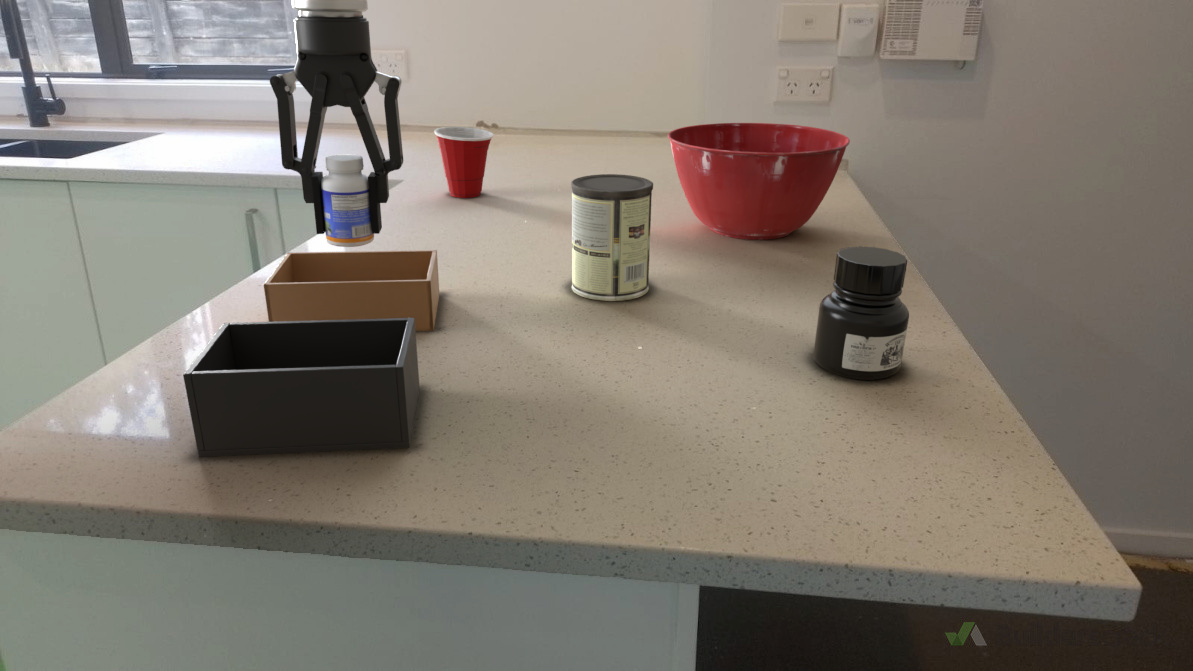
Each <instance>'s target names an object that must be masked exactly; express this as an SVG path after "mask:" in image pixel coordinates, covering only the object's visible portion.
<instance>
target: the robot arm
mask: <svg viewBox="0 0 1193 671" xmlns="http://www.w3.org/2000/svg"><path fill="white" fill-rule="evenodd" d="M291 8H292V9H293V10H294V11H298V15H297V16H295V19H293V22H294V23H293V25H294V34H295V35H294V36H295V44H296V54H297V60H296V63H295V65H294V68H293V70H291V71H289V72H286V73H283V74H282V73H277V74H275V75H273V76H271V77H270V79H269V84H270V87H271V89H272V91H273V93H274V96H275V98H276V104H277V118H278V128H279V129H278V130H279V142H280V155H281V165H282V168H284V170H290V171H293V172H296V173H298V174H299V175H300V178H301V186H302V195H303V196H302V198H303V200H304V202H305V204H313V212H314V219H315V220H314V221H315V231H316V235H325V234H326V233H325V223H324V212H323V201H322V190H321V180H322V179H323V177H324V173H323V171H316V170H315V169H316V168H317V165H316V164H317V160H318V155H319V150H320V145H321V139H322V134H323V128H324V125H325V124H324V123H325V118H326V114H327V111H328V108H331V107H335V106H340V107H343V108H350V110H351V113H352V115H353V117H354V120H355V123H356V124H357V127H358V130H359V133H360V135H361V139H362V141H363V144H364V146H365V149H366V152H367V155H368V158H369V160H370V163H371V166H372V170H373V171H370V173H369V174H368V176H367V177H368V183H369V196H370V209H371V222H372V234H374V235H376V234H377V235H378V234H380V233H381V231H382V228H383V227H382V226H383V223H382V222H383V221H382V210H381V204H387V203H388V201H389V197H390V187H389V173H391V172H394V171H398V170H400V169H401V168H402V166H403V164H404V152H403V142H402V132H401V121H400V120H401V119H400V110H399V109H400V108H399V102H398V101H399V100H398V98H399V95H400V90H401V87H402V79H401V77H400V76H398V75H393V76H392V75H389V74H385V73H383V72H380V71H378V69H377V67H376V65H375V64H374V60H373V58H372V49H371V48H372V47H371V34H370V21H369V20H367V17H364V15H363V12H366V11H367V10H368V9H369V6H368V0H291ZM297 82H299V84H300V85H301V86H302V87H303V88H304V90H305V91H306V93H308V95H309V96H310V97H311V102H310V106H309V117H308V122H307V127H306V133H305V138H304V142H303V148H302V155H301V157H299V153H298V140H297V126H296V125H297V124H296V110H295V99H294V94H293V93H295V91H296V90H297V85H296V84H297ZM374 83H376V84H377V86H378V91H379V93H380V94H381V95H383V96H384V98H383V106H384V115H385V127H386V135H387V145H388V156H389V158H386V156H385V154H384V151H383V148H382V146H381V143H380V139H379V137H378V135H377V131H376V129H375V126H374V123H373V120H372V118H371V115H370V112H369V107H368V104H367V101H366V98H365V96H366V95H367V93H368V92H369V90H370V89H371V87H372V86H373V84H374Z"/></svg>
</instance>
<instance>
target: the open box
mask: <svg viewBox="0 0 1193 671" xmlns="http://www.w3.org/2000/svg"><path fill="white" fill-rule="evenodd" d="M416 332H417V331H415V318H388V319H350V320H312V321H275V322H269V321H246V322H245V321H244V322H243V321H241V322H239V321H238V322H223V323H222V325H221V326H220V327H219V329H218V330H217V331H216V332H215V333H214V335H213V336H212V338H210V340H209V341H208V342H207V343H206V345H205V346H204V347H203V348H202V349H201V351H200V352H199V354H198V355H197V356H196V358H195V359H194V360H193V361H192V363H191V364H190V365H189V366H188V368H186V370H185V371H184V373H183V374H182V376H183V382H184V387H185V393H186V395H187V396H186V397H187V402H188V408H189V413H190V418H191V423H192V429H193V434H194V440H195V445H196V450H197V456H198V458H206V457H207V458H208V457H230V456H231V457H234V456H251V455H253V456H254V455H255V456H256V455H276V454H277V455H278V454H299V453H320V452H321V453H322V452H339V451H340V452H344V451H345V452H346V451H347V452H348V451H365V450H366V451H368V450H391V449H408V448H410V447H411V441H412V437H413V431H414V425H415V418H416V412H417V408H418V402H419V396H420V391H421V388H420V376H419V375H420V374H419V361H418V348H417V347H418V346H417V334H416Z"/></svg>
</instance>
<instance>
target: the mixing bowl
mask: <svg viewBox="0 0 1193 671" xmlns="http://www.w3.org/2000/svg"><path fill="white" fill-rule="evenodd" d="M667 138H668V140H669V142H670V147H671V148H670V149H671V152H672V153H671V154H672V157H673V161H674V166H675V169H676V172H677V173H676V174H677V176H678V179H679V182H680V183H679V184H680V186H681V188H682V191H683V194H684V197H685V198H686V200H687V203H688V204H689V207H690V209H691V211H692V212H693V214H694V216H695V217H696V218H697V220H698V221H700V223H702V224H703V225H704V226H706V227H708V228H709V229H710V230H711V231H712V232H714V233H716V234H718V235H720V236H723V237H727V238H728V237H729V238H733V239H739V240H753V241H755V240H756V241H757V240H760V241H761V240H774V239H781V238H784V237H787V236H789V235H790V234H791V233H792V232H794V231H797V230H798V229H800V228H802V227H803V226H804V225H805V224H806V223H808V221H809V220H810V219H811V218H812V217H813V215H814V214H815V212H816V211H817V210H818V208H819V207H820V205H821V203H822V202H823V200H824V199H825V196H826V195H827V193H828V192H829V190H830V188H831V186H832V184H833V182H834V179H835V177H836V176H837V173H838V170H839V168H840V166H841V163H842V161H843V158H844V155H845V152H846V149H847V147H848V146H849V145H850V142H851V140H850V138H849V137H848V136H846V135H844V134H842V133H840V132H836V131H833V130H829V129H826V128H819V127H814V126H807V125H799V124H788V123H787V124H785V123H768V122H767V123H766V122H722V123H721V122H719V123H706V124H696V125H688V126H683V127H679V128H676V129H672V130H671V131H670V132H668V133H667Z"/></svg>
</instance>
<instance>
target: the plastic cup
mask: <svg viewBox="0 0 1193 671" xmlns="http://www.w3.org/2000/svg"><path fill="white" fill-rule="evenodd" d="M433 133H434V135H435V136H436V139H437V143H438V147H439V150H440V156H441V160H442V166H443V171H444V175H445V178H446V183H447V186H448V188H447V189H448V192H449V195H450V196H451V197H453V198H459V199H470V198H477V197H479V196H482V195H481V194H482V190H483V183H484V177H485V172H486V165H487V157H488V151H489V149H490V148H489V147H490V144H491V141H492V139H493V138H494V136H495V135H494V133H493V132H492V131H489V130H485V129H481V128H477V127H466V126H443V127H437V128H435V129H434V130H433Z"/></svg>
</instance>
